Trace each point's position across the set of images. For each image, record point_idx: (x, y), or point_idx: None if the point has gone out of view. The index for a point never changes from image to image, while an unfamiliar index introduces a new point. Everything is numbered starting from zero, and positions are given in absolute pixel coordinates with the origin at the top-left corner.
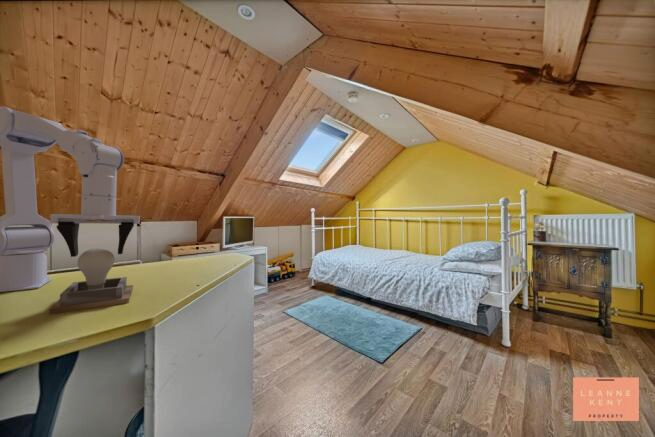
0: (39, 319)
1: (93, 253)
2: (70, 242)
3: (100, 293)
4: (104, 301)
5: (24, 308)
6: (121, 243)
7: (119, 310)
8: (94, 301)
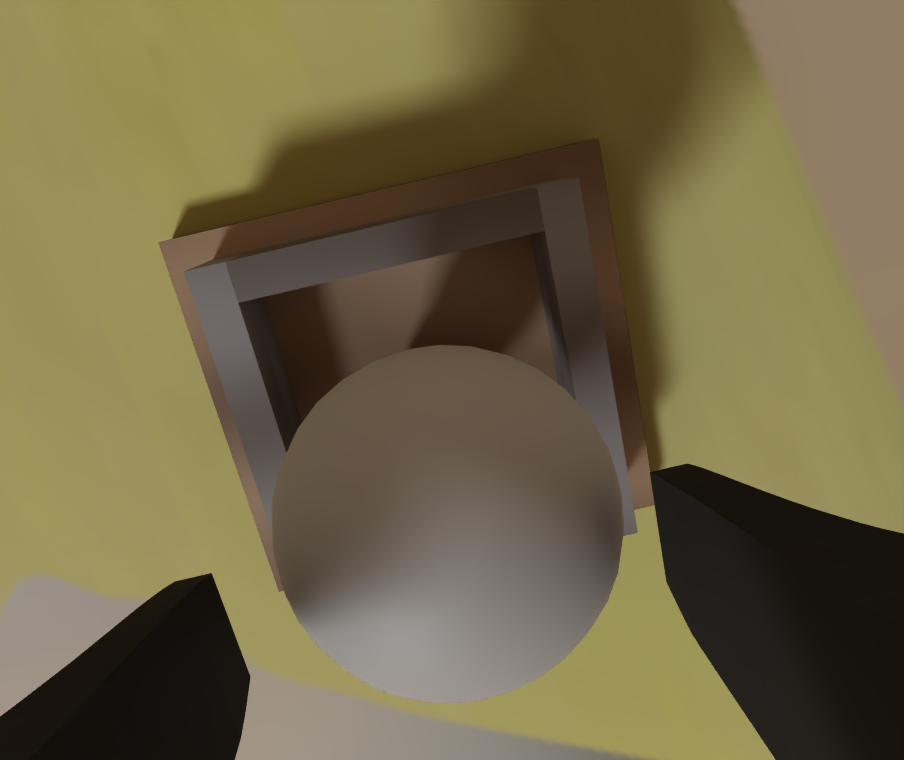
0: (600, 55)
1: (438, 451)
2: (797, 529)
3: (334, 233)
4: (308, 212)
5: (779, 316)
6: (83, 671)
7: (160, 71)
8: (373, 221)
